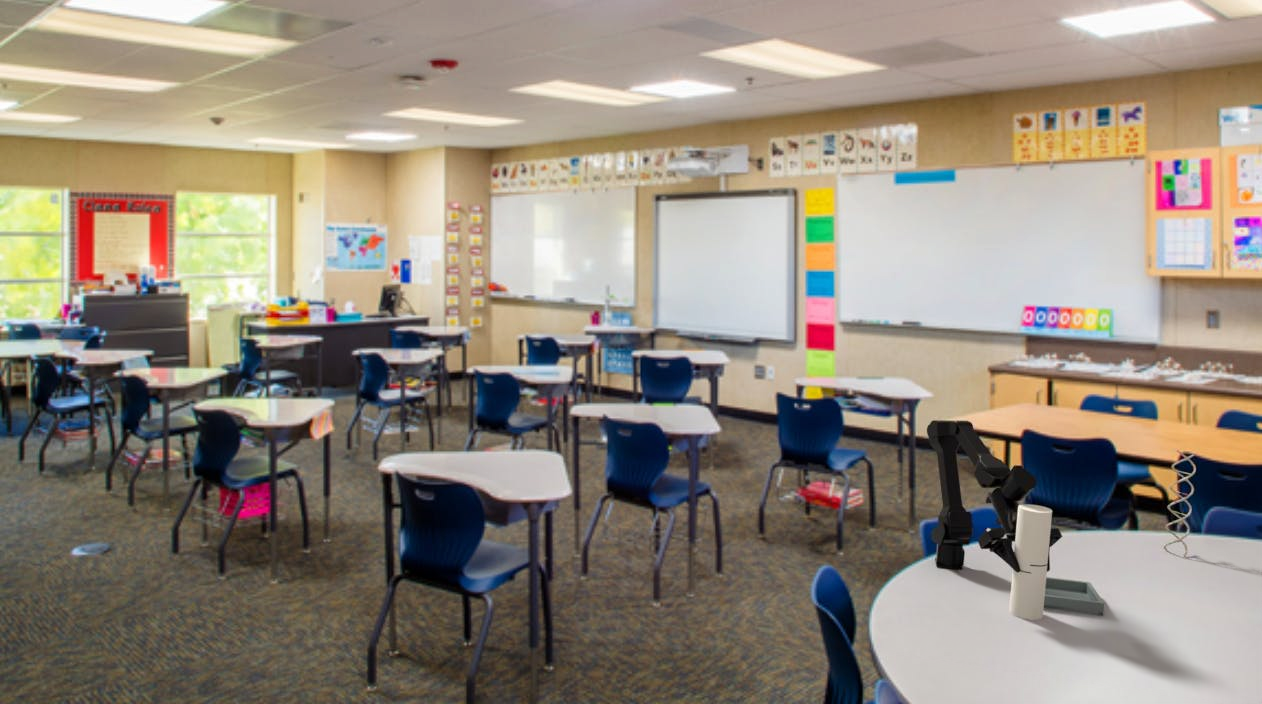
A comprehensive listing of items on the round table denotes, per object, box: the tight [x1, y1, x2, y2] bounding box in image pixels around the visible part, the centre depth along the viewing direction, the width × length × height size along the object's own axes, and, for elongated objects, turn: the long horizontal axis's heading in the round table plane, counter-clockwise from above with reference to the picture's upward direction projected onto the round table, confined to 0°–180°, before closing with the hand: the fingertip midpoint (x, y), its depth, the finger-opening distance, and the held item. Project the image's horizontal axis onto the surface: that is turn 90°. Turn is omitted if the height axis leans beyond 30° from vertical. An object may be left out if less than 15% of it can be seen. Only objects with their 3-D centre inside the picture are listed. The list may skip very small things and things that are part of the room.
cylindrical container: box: [1008, 503, 1053, 621], centre depth 205 cm, size 7×7×25 cm
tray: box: [1044, 576, 1105, 617], centre depth 216 cm, size 15×15×3 cm
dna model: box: [1163, 449, 1197, 557], centre depth 256 cm, size 7×6×30 cm
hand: (1033, 571), depth 204 cm, fingers closed on cylindrical container, 7 cm apart
